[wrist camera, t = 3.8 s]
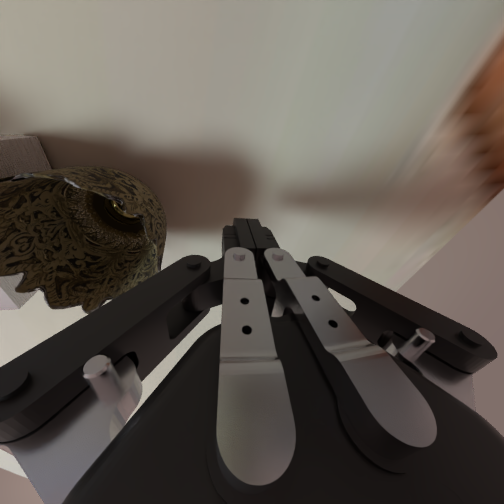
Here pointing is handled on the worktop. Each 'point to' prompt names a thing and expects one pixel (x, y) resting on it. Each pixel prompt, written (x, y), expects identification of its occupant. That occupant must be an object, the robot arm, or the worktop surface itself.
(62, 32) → the worktop surface
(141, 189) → the cup
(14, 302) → the plunger
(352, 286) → the robot arm
